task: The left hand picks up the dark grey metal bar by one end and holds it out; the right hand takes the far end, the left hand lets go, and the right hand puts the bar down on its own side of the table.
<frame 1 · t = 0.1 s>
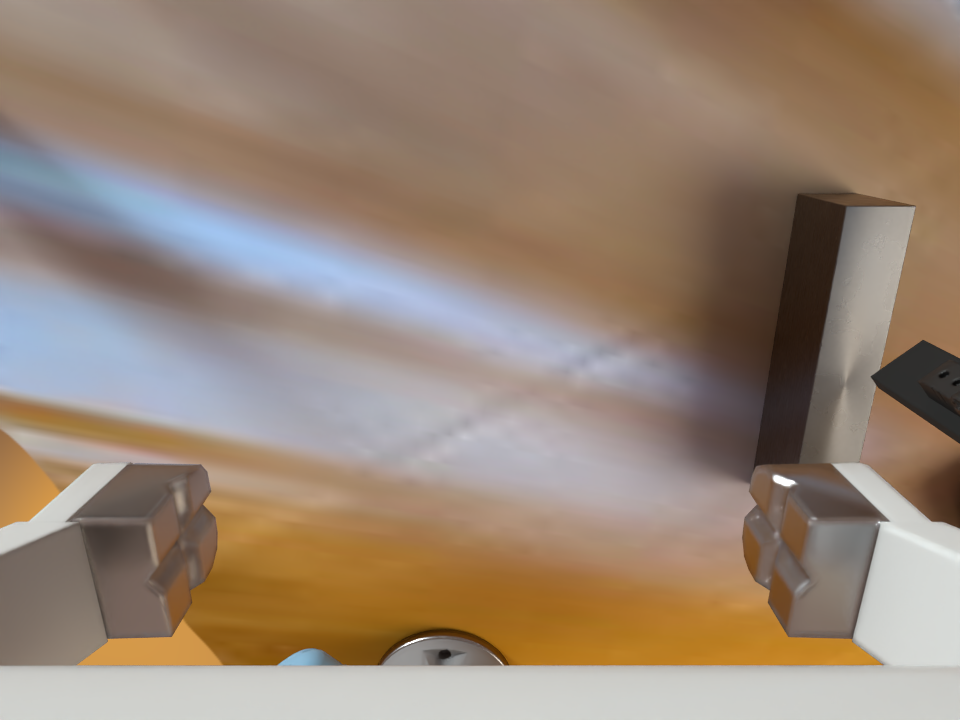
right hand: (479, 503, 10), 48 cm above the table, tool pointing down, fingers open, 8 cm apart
bar: (800, 350, 60), on the table
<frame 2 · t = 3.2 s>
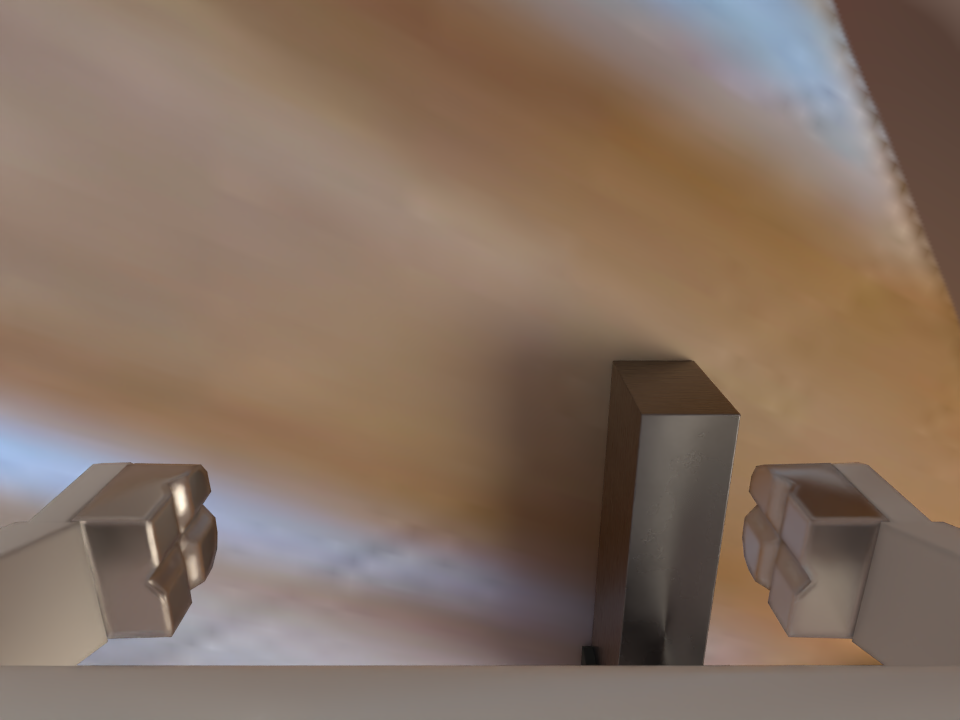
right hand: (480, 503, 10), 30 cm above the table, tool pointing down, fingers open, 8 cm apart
bar: (635, 549, 46), on the table, touching left hand
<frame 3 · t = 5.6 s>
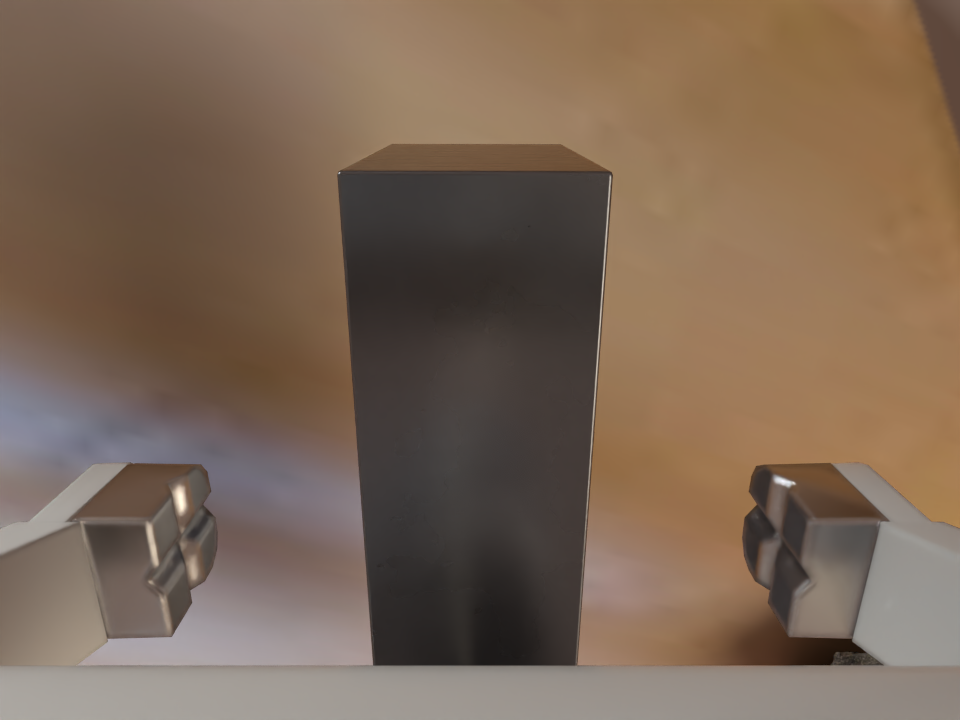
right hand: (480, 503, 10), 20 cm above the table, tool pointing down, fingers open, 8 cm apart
bar: (476, 539, 24), point 9 cm above the table, touching left hand
rock: (870, 686, 39), on the table
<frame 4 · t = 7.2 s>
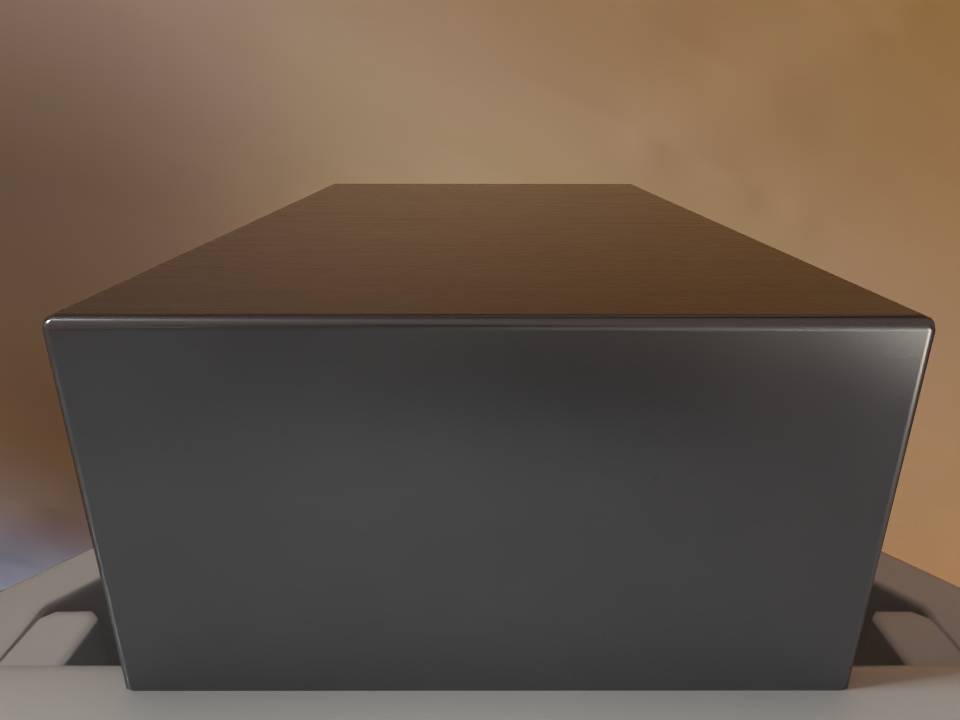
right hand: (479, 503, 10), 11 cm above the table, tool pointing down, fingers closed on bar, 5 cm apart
when the left hand's fingers open (9 cm above the table, at t = 8.1 s): bar stays where it is, held by the right hand.
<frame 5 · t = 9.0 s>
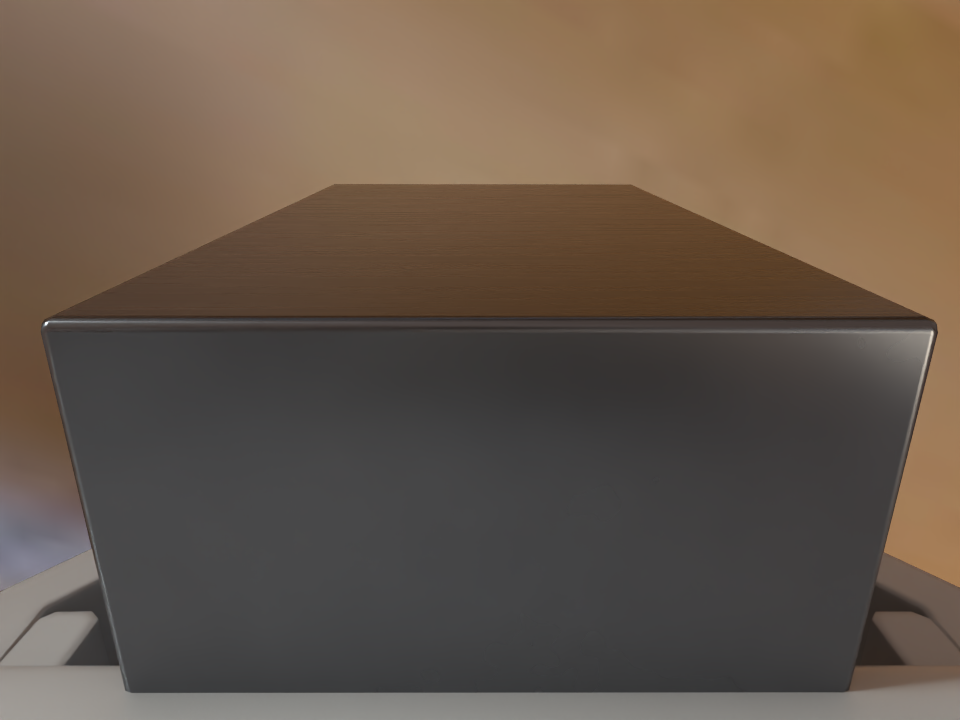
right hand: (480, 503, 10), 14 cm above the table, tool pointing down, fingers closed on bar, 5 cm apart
when the right hand's fingers open (4 cm above the table, at t = 15.1 s): bar drops 1 cm, on the table.
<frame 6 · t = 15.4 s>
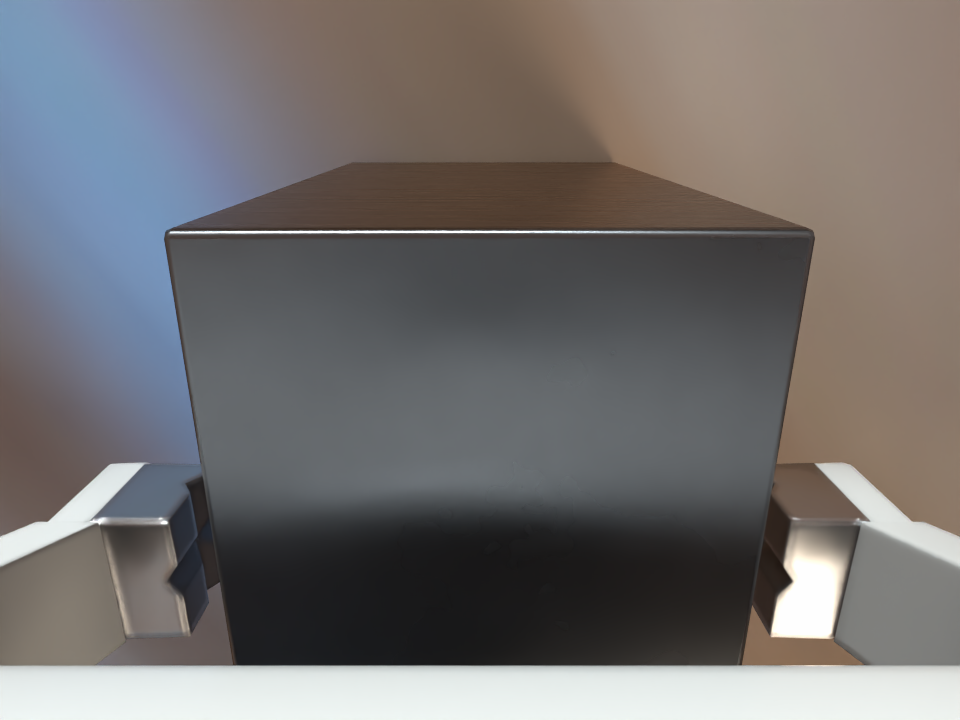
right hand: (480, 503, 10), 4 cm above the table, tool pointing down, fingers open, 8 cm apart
bar: (482, 719, 17), on the table
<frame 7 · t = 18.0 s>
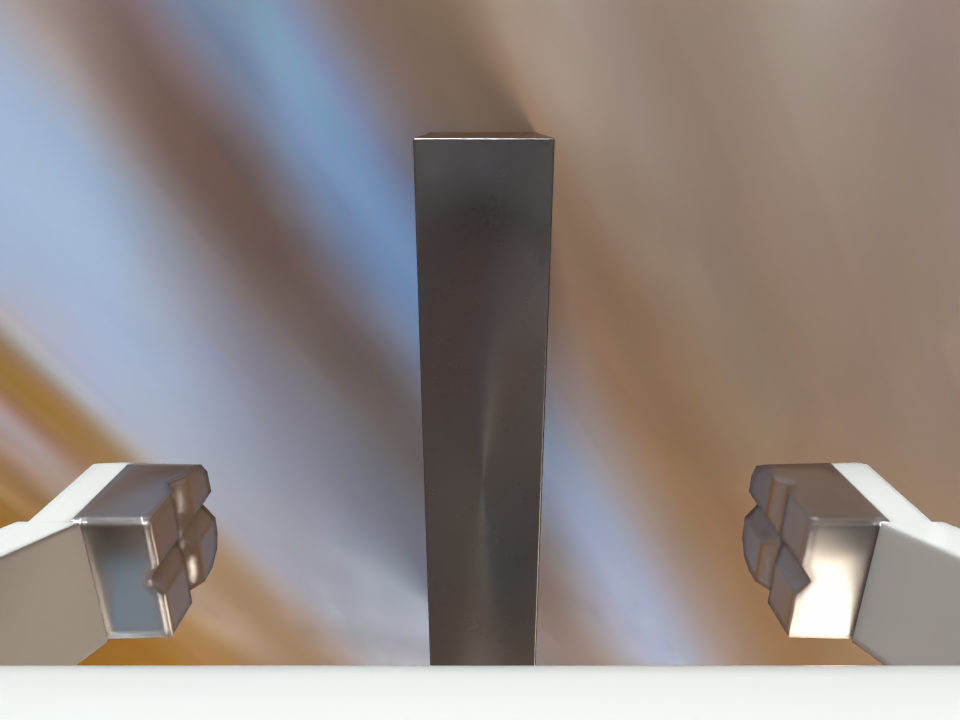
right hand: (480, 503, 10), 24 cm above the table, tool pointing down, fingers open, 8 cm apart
bar: (482, 404, 36), on the table
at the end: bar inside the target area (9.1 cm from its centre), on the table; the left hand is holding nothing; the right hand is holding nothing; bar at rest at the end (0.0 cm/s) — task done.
